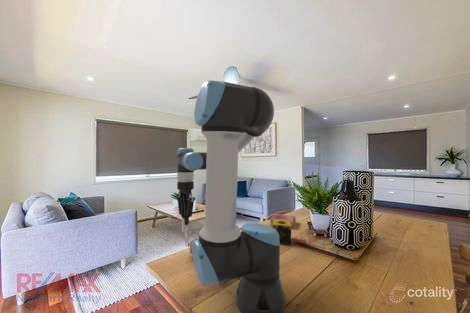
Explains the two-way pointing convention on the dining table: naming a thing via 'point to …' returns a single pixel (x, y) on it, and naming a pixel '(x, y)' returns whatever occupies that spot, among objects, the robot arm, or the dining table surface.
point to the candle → (283, 230)
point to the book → (283, 217)
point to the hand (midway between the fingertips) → (185, 230)
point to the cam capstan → (191, 246)
